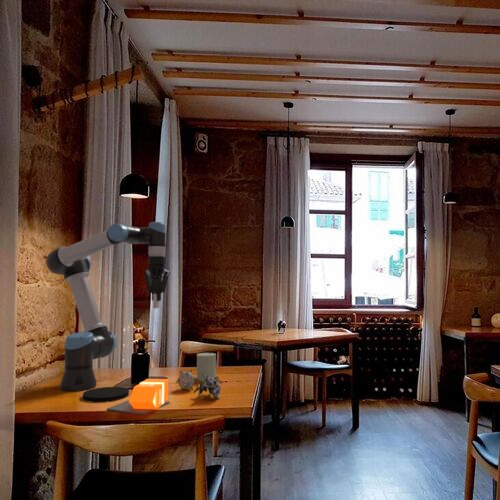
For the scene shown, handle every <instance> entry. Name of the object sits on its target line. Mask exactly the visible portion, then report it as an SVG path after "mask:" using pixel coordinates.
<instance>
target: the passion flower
mask: <svg viewBox="0 0 500 500" xmlns="http://www.w3.org/2000/svg"><path fill="white" fill-rule="evenodd" d="M203 377H204V379H205V381H203V380H201V381H200V383H199V386H198V382H197V381H195V382H194V385H195V387H196V388H195V389H194V391H193V394H194V393H196V392H198V395H197V399H199V398H200V395H202V393H203V392H205V393H207V392H208V393H209V394H208V395H212V397H213V398H214V399H217V400H219V399H220V396H219V395H220V394H221V385H220V384H223V383H222V381H221V380H220V378H219V376H218V375H216V376H215V377H214V378H212V377H211V376H208V375H204V373H203Z"/></svg>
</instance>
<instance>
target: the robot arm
mask: <svg viewBox="0 0 500 500" xmlns="http://www.w3.org/2000/svg"><path fill="white" fill-rule="evenodd" d="M166 234H167V230H166V224H165V222H161V221H152V222H151V221H150V222H149V223H148V226H146V227H144V226H143V227H138V226H132V225H127V224H123V223H113V224H111V225H110V226H109V227H108V229H106V230H104V231H102V232H100V233H97V234H95V235H92V236H90V237H88V238H86V239H83V240H80V241H78V242H76V243H72V244H71V245H68V246H60V247H58V248H56V249H53V250H52V251H50V252H49V253H48V255H47V256H46V259H45V263H46V267H47V269H48V270H49V271H50V272H51V273H53V274H55V275H60V276H61V275H63V278H64V281H65V283H68V284H69V286H70V290H71V292H72V295H73V298H74V302H75V305H76V308H77V312H78V315H79V317H80V320H81V324H82V328H83V331H80V332H74V333H71V334H69V335H67V336H66V337H65V342H64V371H63V375H62V378H61V381H60V383H59V389H60V390H61V391H64V390H65V391H66V392H76V391H77V392H78V391H85V390H86V391H87V390H91V389H95V388H97V380H98V379H97V378H96V374H95V370H94V369H93V368H94V363H93V362H94V360H97V359H101V358H105V357H108V356H110V355H112V353H113V352H114V351H115V348H116V347H117V338H116V336H115V334H114V333H113V332H112V331H109V328H108V326H107V325H106V324H104V323H103V322H102V319H101V315H100V312H99V309H98V305H97V302H96V300H95V295H94V294H93V291H92V287H91V284H90V281H89V276H90V275H91V273H90V270H91V267H92V262H91V259H90V256H92V255H94V254H97V253H99V252H103V251H104V250H106V249H109V248H111V247H114V246H117V245H119V244H121V243H126V244H129V245H140V244H148V267H147V270H146V271H145V270H144V271H143V275H144V277H145V282H146V287H147V292H148V293H151V301H152V308H153V309H160V301H161V300H162V293H165V292H166V288H167V284H168V279H169V275H170V274H171V272H170V271H168V270H167V269H166V266H165V265H166V236H167V235H166Z"/></svg>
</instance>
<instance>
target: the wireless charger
mask: <svg viewBox="0 0 500 500" xmlns="http://www.w3.org/2000/svg"><path fill="white" fill-rule="evenodd" d="M129 395H130V390H129V388H127V387H121V386H106V387H105V386H102V387H95V388H91V389H87V390H86V391H85V390H84V391H83V393H82V400H83V401H86V402H89V401H92V402H91V403H108V402H107V401H109V402H114V401H115V402H116V401H119V400H123V399H126V398H128V397H129Z"/></svg>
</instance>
